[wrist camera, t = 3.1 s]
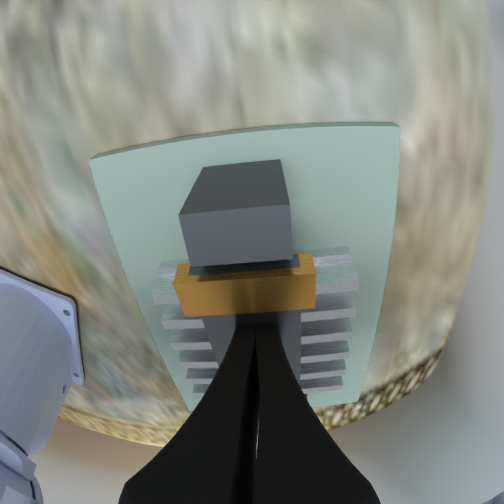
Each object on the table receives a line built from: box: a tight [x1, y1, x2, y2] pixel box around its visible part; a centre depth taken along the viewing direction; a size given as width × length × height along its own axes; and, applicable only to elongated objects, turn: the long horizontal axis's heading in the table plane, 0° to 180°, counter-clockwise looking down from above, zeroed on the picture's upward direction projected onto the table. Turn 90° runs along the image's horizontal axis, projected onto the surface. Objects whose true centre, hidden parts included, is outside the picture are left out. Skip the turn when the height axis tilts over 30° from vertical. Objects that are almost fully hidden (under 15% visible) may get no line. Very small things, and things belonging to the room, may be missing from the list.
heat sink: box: [151, 246, 360, 398], centre depth 15 cm, size 8×8×2 cm
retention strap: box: [173, 253, 316, 436], centre depth 13 cm, size 13×4×1 cm, turn 6°
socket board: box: [89, 122, 401, 411], centre depth 14 cm, size 18×12×5 cm, turn 6°
